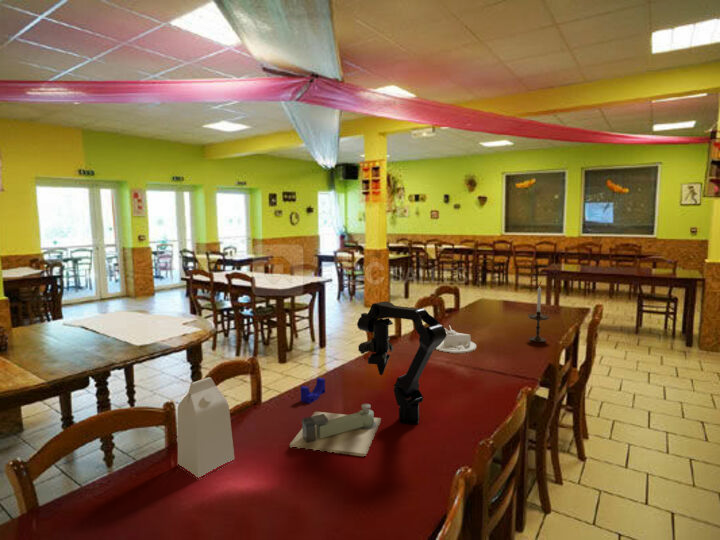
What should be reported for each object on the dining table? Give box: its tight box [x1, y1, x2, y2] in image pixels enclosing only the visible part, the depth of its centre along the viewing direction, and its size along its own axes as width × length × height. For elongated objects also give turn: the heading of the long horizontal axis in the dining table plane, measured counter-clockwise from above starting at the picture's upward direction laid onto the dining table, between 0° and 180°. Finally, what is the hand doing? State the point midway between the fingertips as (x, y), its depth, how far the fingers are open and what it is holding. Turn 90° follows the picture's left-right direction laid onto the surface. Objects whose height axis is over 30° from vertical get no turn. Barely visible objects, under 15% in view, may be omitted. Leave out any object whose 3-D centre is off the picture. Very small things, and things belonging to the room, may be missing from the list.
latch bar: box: [317, 403, 375, 439], centre depth 147 cm, size 21×5×6 cm, turn 119°
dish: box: [436, 324, 477, 354], centre depth 243 cm, size 25×25×11 cm
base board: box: [289, 411, 382, 457], centre depth 148 cm, size 25×24×1 cm
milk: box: [177, 376, 236, 478], centre depth 130 cm, size 12×12×26 cm
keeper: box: [301, 414, 328, 443], centre depth 143 cm, size 8×4×6 cm, turn 116°
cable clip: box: [300, 377, 326, 404], centre depth 178 cm, size 12×4×6 cm, turn 147°
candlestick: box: [528, 281, 550, 343], centre depth 250 cm, size 11×11×35 cm
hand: (381, 374), depth 166 cm, fingers closed
